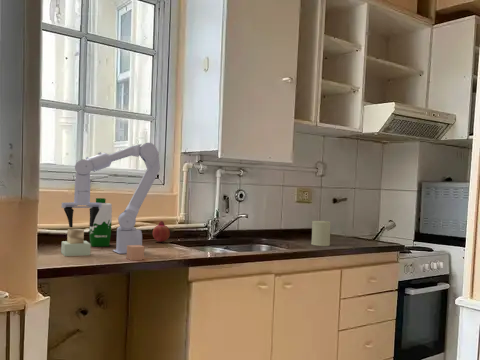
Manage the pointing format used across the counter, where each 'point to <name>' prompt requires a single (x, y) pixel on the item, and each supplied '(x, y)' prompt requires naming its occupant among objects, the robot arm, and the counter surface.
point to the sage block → (75, 248)
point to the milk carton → (101, 225)
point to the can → (321, 233)
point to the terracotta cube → (135, 252)
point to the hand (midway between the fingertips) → (81, 226)
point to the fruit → (161, 232)
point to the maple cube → (75, 236)
